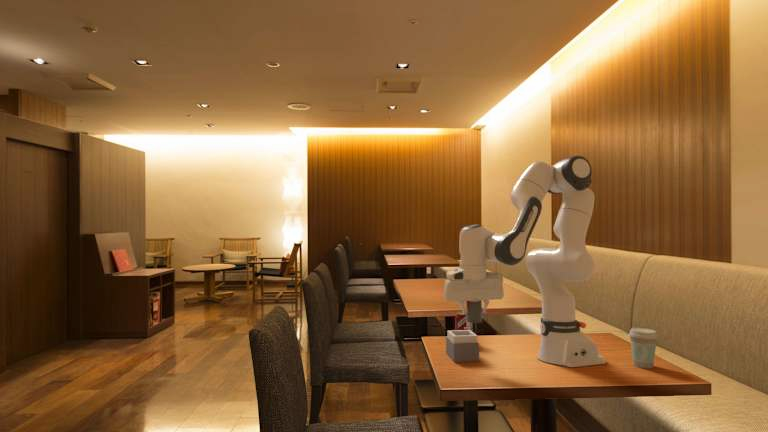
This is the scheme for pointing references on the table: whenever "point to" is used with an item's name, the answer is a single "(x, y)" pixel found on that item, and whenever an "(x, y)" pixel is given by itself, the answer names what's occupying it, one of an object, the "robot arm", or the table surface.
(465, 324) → the soda can
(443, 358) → the table surface
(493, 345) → the table surface
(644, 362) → the coffee cup
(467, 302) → the lens
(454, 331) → the camera body
